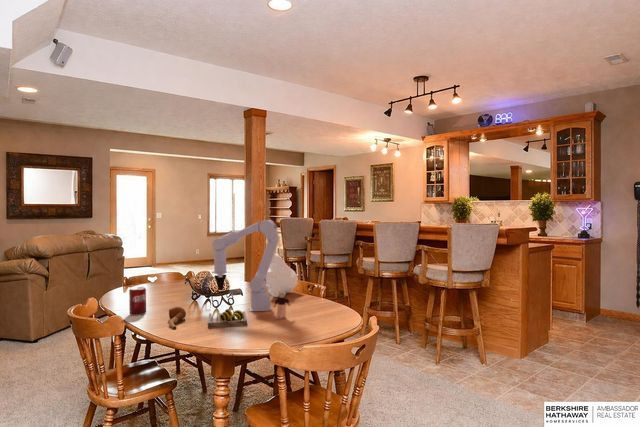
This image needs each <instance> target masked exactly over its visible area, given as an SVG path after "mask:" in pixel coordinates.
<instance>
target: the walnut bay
mask: <svg viewBox="0 0 640 427" xmlns="http://www.w3.org/2000/svg"><path fill="white" fill-rule="evenodd" d="M242 312H243V314H244V317H243V319H242V320H239V321H231V320H227V321H213V322H212V313H208V319H207V328H208V329H210V328H211V329H212V328H227V327H242V326H243V327H244V326H248V318H247V314H246V311H242Z"/></svg>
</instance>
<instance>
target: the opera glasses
mask: <svg viewBox="0 0 640 427" xmlns="http://www.w3.org/2000/svg"><path fill="white" fill-rule="evenodd" d="M243 312H244V311H242V310H239V309H237V310H234V311H233V312H232V311H231V309H229V308H226V309H225V310H224V311H223V312H222V313H221V314H219V319H220V322H223V321H239V320H244V319H243V317H244V314H243Z"/></svg>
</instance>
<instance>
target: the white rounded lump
mask: <svg viewBox="0 0 640 427" xmlns="http://www.w3.org/2000/svg"><path fill="white" fill-rule="evenodd" d="M266 282H267V283H266V287H267V289H268V291H270V295H271V296H273V297H274V298H278V297H279V295H278V292H279V291H280V290H283V291H285V293H286V294H287V293H290V292H292V291H293V290H294V289H295V287H296V286H297V285H298V275H297V273H296V272H295V270H293V268H291V267H290V266H289V265H288V264H286V262H285V260H283V257H281V255H280V254H278V253H276V252H275V253H274V256H273V259H272V261H271V264H270V267H269V270H268V273H267V278H266Z"/></svg>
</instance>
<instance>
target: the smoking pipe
mask: <svg viewBox="0 0 640 427" xmlns="http://www.w3.org/2000/svg"><path fill="white" fill-rule="evenodd" d="M186 316H187V312H186V310H185V309H184V308H183V307H181V306H176V307H173V308H170V309H169V310H168V317H169V321H168V325H169V326H170V327H171V328H172V330H176V329H177V326H176V325H175V324H176V323H178V322H180V321H181V320H184V319H185V318H186Z"/></svg>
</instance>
